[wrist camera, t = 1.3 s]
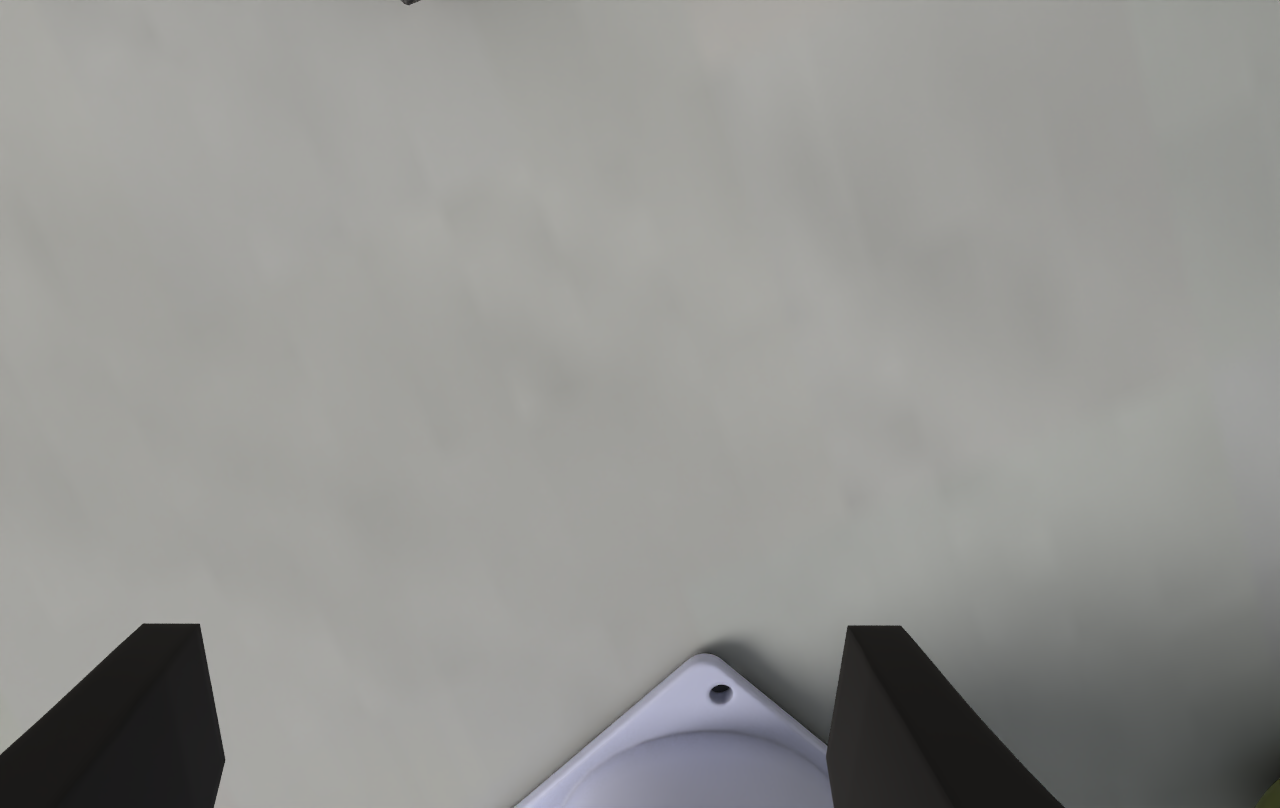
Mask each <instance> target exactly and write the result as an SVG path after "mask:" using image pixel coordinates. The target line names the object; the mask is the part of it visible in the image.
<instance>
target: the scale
mask: <svg viewBox="0 0 1280 808" xmlns="http://www.w3.org/2000/svg"><path fill="white" fill-rule="evenodd" d="M401 1H402V2H403V3H404V4H407V5H410V4H413V3H415V2H418V1H420V0H401Z"/></svg>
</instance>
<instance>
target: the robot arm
mask: <svg viewBox="0 0 1280 808" xmlns="http://www.w3.org/2000/svg"><path fill="white" fill-rule="evenodd" d="M717 685H727V686H729V687H730V688H729V689H728V690H726V691H724V692H719V693H716V692H714V691H712V690H711V689H712V688H713V687H715V686H717ZM224 763H225V756H224V750H223V745H222V740H221V734H220V729H219V724H218V718H217V713H216V708H215V702H214V697H213V692H212V686H211V681H210V676H209V671H208V665H207V660H206V655H205V649H204V644H203V639H202V633H201V628H200V624H142V625H141V626H140V627H139V628H138V629H137V630H136V631H134V632H133V633H132V634H131V635H130V636H129V637H128V638H127V639H126V640H124V641H123V642H122V643H121V644H120V645H119V646H118V647H117V648H116V649H115V650H114V651H112V652H111V653H110V654H109V655H108V656H107V657H106V658H105V659H104V660H103V661H102V662H101V663H100V664H99V665H97V666H96V667H95V668H94V669H93V670H92V671H91V672H90V673H89V674H88V675H87V676H86V677H85V678H84V679H83V680H82V681H80V682H79V683H78V684H77V685H76V686H75V687H74V688H73V689H72V690H71V691H70V692H69V693H68V694H67V695H65V696H64V697H63V698H62V699H61V700H60V701H59V702H58V703H57V704H56V705H55V706H54V707H53V708H52V709H50V710H49V711H48V712H47V713H46V714H45V715H44V716H43V717H42V718H41V719H40V720H38V721H37V722H36V723H35V724H34V725H33V726H32V727H31V728H30V729H28V730H27V731H26V732H25V733H24V734H23V735H22V736H21V737H20V738H18V739H17V740H16V741H15V742H14V743H13V744H12V745H11V746H10V747H8V748H7V749H6V750H5V751H4V752H3V753H2V754H1V755H0V808H214V804H215V800H216V796H217V792H218V788H219V784H220V780H221V775H222V771H223V767H224ZM514 808H1065V807H1064V806H1063V805H1061V804H1060V803H1059V802H1058V801H1057V800H1056V799H1055V798H1054V797H1053V796H1052V795H1051V794H1050V793H1049V792H1048V791H1047V790H1046V788H1045V787H1044V786H1043V785H1042V784H1041V783H1040V782H1039V781H1038V780H1037V779H1036V778H1035V777H1034V776H1033V775H1032V774H1031V773H1030V772H1029V771H1028V770H1027V769H1026V768H1025V767H1024V765H1023V764H1022V763H1021V762H1020V761H1019V760H1018V759H1017V758H1016V757H1015V756H1014V755H1013V754H1012V753H1011V751H1010V750H1009V749H1008V748H1007V747H1006V746H1005V745H1004V744H1003V743H1002V742H1001V741H1000V740H999V738H998V737H997V736H996V735H995V734H994V733H993V732H992V731H991V730H990V729H989V727H988V726H987V725H986V724H985V723H984V722H983V721H982V720H981V718H980V717H979V716H978V715H977V714H976V713H975V712H974V711H973V709H972V708H971V707H970V706H969V705H968V704H967V702H966V701H965V700H964V699H963V698H962V697H961V695H960V694H959V693H958V692H957V691H956V690H955V688H954V687H953V686H952V685H951V684H950V683H949V681H948V680H947V679H946V678H945V677H944V676H943V674H942V673H941V672H940V671H939V670H938V668H937V667H936V666H935V665H934V664H933V662H932V661H931V660H930V659H929V658H928V657H927V655H926V654H925V653H924V652H923V651H922V649H921V648H920V647H919V646H918V645H917V643H916V642H915V641H914V640H913V639H912V638H911V636H910V635H909V634H908V633H907V632H906V631H905V630H904V629H903V628H902V626H848V627H847V633H846V639H845V645H844V651H843V657H842V663H841V669H840V675H839V681H838V687H837V693H836V699H835V705H834V711H833V717H832V723H831V729H830V735H829V741H828V746H827V745H826V744H824V743H823V742H822V741H821V740H820V739H818V738H817V737H816V736H815V735H813V734H812V733H811V732H810V731H809V730H807V729H806V728H805V727H804V726H802V725H801V724H800V723H799V722H798V721H796V720H795V719H794V718H793V717H791V716H790V715H789V714H788V713H787V712H785V711H784V710H783V709H782V708H780V707H779V706H778V705H777V704H776V703H774V702H773V701H772V700H771V699H769V698H768V697H767V696H766V695H765V694H763V693H762V692H761V691H760V690H758V689H757V688H756V687H755V686H754V685H752V684H751V683H750V682H749V681H747V680H746V679H745V678H744V677H743V676H741V675H740V674H739V673H738V672H736V671H735V670H734V669H733V668H732V667H730V666H729V665H728V664H727V663H725V662H724V661H723V660H722V659H721V658H719V657H717V656H715V655H713V654H707V653H703V654H698V655H695V656H693V657H691V658H689V659H688V660H687V661H686V662H684V663H683V664H682V665H681V666H680V667H678V668H677V669H676V670H675V671H674V672H673V673H671V674H670V675H669V676H668V677H667V678H666V679H664V680H663V681H662V682H661V683H660V684H658V685H657V686H656V687H655V688H654V689H653V690H651V691H650V692H649V693H648V694H647V695H645V696H644V697H643V698H642V699H641V700H640V701H638V702H637V703H636V704H635V705H634V706H633V707H631V708H630V709H629V710H628V711H627V712H625V713H624V714H623V715H622V716H621V717H620V718H618V719H617V720H616V721H615V722H614V723H612V724H611V725H610V726H609V727H608V728H607V729H605V730H604V731H603V732H602V733H601V734H600V735H598V736H597V737H596V738H595V739H594V740H592V741H591V742H590V743H589V744H588V745H587V746H585V747H584V748H583V749H582V750H581V751H580V752H578V753H577V754H576V755H575V756H574V757H572V758H571V759H570V760H569V761H568V762H567V763H565V764H564V765H563V766H562V767H561V768H559V769H558V770H557V771H556V772H555V773H554V774H552V775H551V776H550V777H549V778H548V779H547V780H545V781H544V782H543V783H542V784H541V785H539V786H538V787H537V788H536V789H535V790H534V791H532V792H531V793H530V794H529V795H528V796H526V797H525V798H524V799H523V800H522V801H521V802H519V803H518V804H517V805H516V806H515V807H514Z"/></svg>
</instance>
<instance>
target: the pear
mask: <svg viewBox="0 0 1280 808" xmlns="http://www.w3.org/2000/svg"><path fill="white" fill-rule="evenodd" d="M1255 808H1280V779H1278V780H1277V781H1276V782H1275V783H1274V784H1273V785H1272V786H1271V787H1270V788H1269V789H1268V790H1267V791H1266V792H1265V793H1264V795H1263V796H1262V797H1261V799H1260V800H1259V802H1258V803H1257V805H1256V807H1255Z"/></svg>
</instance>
